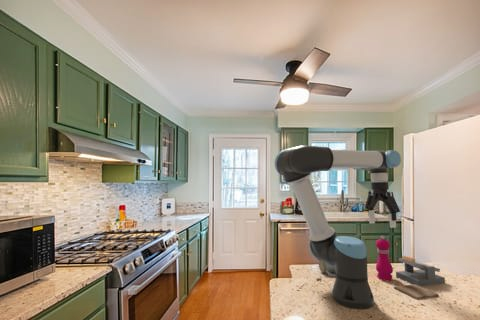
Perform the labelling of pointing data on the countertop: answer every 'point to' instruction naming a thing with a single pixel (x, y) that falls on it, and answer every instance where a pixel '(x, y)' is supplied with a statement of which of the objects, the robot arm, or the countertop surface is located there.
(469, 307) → the countertop surface
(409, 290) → the coaster
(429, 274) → the switch housing
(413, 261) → the breaker rocker
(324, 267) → the ceramic mug
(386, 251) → the pepper mill
